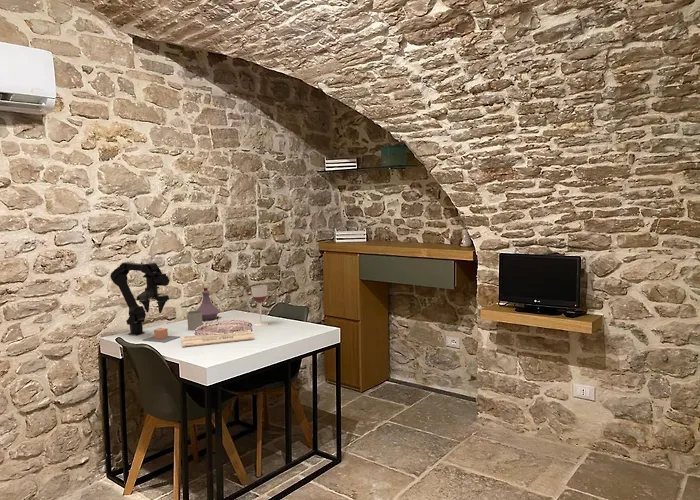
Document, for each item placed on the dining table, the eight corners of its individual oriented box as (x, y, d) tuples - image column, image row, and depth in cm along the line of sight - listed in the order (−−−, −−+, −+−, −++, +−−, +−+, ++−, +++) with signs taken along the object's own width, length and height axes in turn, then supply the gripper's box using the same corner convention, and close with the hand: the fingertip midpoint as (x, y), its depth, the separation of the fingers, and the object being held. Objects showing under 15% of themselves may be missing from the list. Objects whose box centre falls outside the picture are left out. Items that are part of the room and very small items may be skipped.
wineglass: (272, 323, 334) (270, 285, 332) (261, 326, 326) (259, 288, 324) (260, 321, 339) (259, 284, 337) (249, 325, 331) (247, 287, 329)
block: (154, 338, 303) (153, 330, 303) (161, 336, 308) (160, 327, 307) (161, 339, 301) (160, 330, 301) (168, 337, 306) (167, 328, 305)
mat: (142, 340, 302) (142, 339, 302) (157, 335, 313) (157, 334, 313) (164, 342, 296) (164, 341, 296) (180, 337, 307) (180, 336, 307)
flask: (225, 316, 358) (223, 286, 356) (210, 322, 343) (208, 290, 341) (204, 315, 364) (202, 285, 362) (188, 321, 349) (186, 289, 347)
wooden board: (249, 333, 312) (249, 328, 312) (254, 341, 294) (254, 336, 294) (181, 340, 301) (181, 335, 301) (182, 349, 283) (182, 344, 282)
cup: (198, 330, 321) (197, 313, 320) (185, 330, 323) (184, 313, 322) (205, 327, 329) (204, 310, 329) (192, 327, 331) (191, 310, 330)
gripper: (128, 287, 307) (130, 314, 308) (154, 288, 299) (156, 316, 300) (143, 284, 317) (145, 310, 318) (168, 285, 309) (170, 312, 311)
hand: (153, 312), depth 312 cm, fingers open, 9 cm apart
